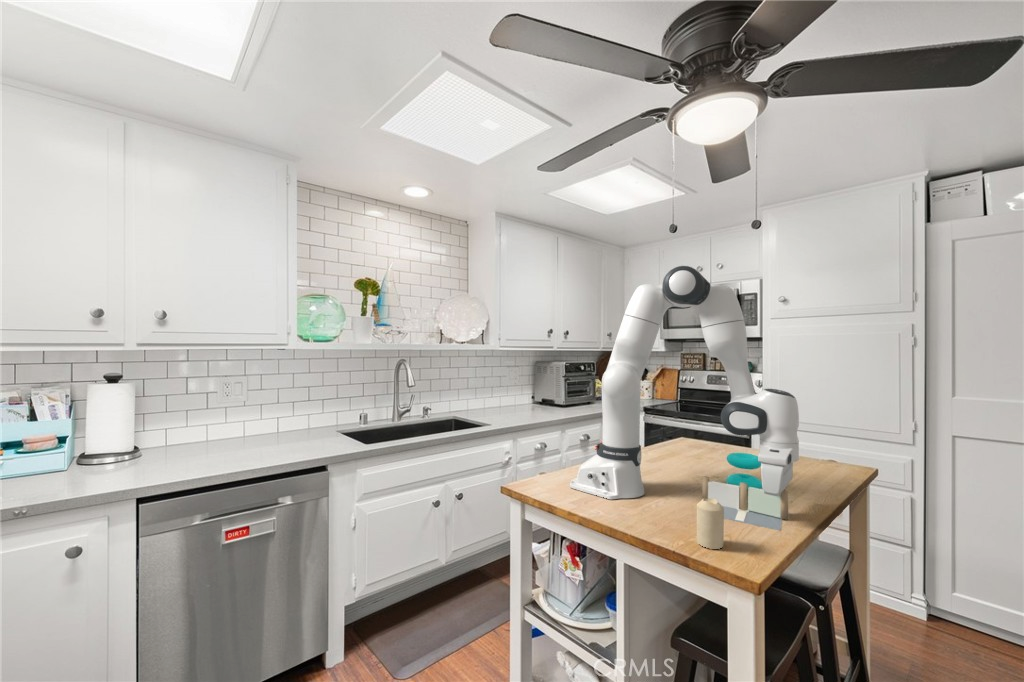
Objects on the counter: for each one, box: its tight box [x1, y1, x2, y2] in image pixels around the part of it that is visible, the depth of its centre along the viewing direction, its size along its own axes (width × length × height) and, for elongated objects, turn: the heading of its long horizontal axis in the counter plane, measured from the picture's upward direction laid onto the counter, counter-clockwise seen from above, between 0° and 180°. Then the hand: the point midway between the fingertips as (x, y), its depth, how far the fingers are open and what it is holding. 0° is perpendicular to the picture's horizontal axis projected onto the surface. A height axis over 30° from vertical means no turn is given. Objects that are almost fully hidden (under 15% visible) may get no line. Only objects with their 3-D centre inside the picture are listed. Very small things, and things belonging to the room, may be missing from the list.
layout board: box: [722, 501, 783, 532], centre depth 118 cm, size 19×17×1 cm
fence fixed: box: [701, 475, 748, 510], centre depth 122 cm, size 11×2×7 cm, turn 57°
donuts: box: [726, 452, 763, 492], centre depth 139 cm, size 10×10×10 cm
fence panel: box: [747, 487, 789, 520], centre depth 115 cm, size 9×2×7 cm, turn 47°
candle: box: [696, 498, 725, 550], centre depth 99 cm, size 6×6×10 cm
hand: (778, 503), depth 116 cm, fingers closed
